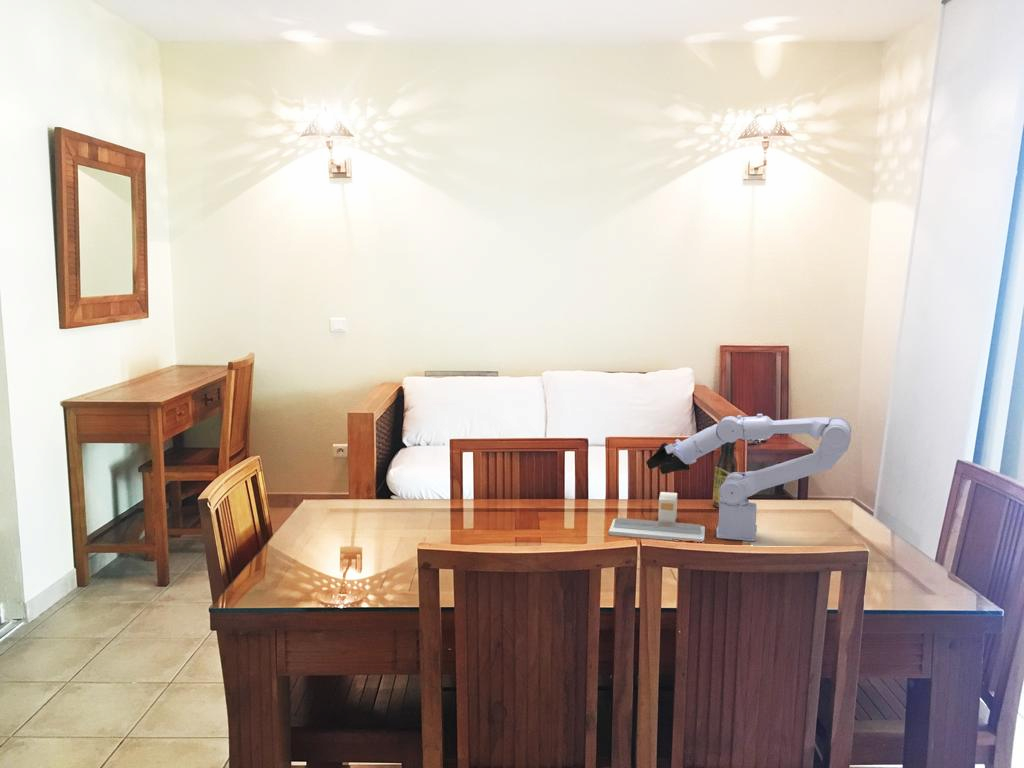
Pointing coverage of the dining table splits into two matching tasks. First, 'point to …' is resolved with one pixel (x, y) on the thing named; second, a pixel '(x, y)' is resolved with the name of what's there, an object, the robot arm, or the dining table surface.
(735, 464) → the sauce bottle
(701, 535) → the board
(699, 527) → the metal rail
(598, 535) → the dining table surface
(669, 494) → the block
